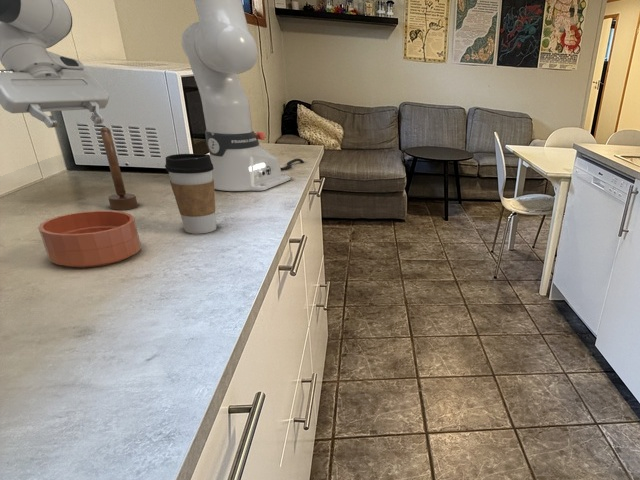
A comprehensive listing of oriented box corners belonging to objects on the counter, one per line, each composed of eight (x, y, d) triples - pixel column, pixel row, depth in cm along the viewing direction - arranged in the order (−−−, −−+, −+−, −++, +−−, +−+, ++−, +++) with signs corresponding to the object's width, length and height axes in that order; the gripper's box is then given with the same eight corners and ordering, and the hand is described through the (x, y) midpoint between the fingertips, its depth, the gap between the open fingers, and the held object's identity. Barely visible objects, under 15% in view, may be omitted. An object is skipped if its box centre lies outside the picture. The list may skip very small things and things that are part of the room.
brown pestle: (127, 202, 110) (108, 124, 102) (143, 206, 108) (124, 127, 100) (105, 207, 106) (83, 126, 98) (121, 211, 104) (99, 129, 96)
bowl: (110, 236, 91) (102, 206, 88) (158, 250, 86) (151, 219, 84) (32, 258, 80) (20, 224, 77) (82, 276, 75) (71, 240, 73)
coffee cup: (205, 238, 93) (192, 161, 87) (168, 232, 95) (151, 156, 88) (231, 225, 101) (221, 153, 94) (196, 220, 102) (183, 149, 95)
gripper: (-23, 58, 91) (25, 117, 92) (87, 60, 108) (127, 111, 109) (-27, 81, 94) (19, 138, 96) (81, 80, 111) (119, 129, 112)
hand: (77, 123), depth 102 cm, fingers open, 8 cm apart
